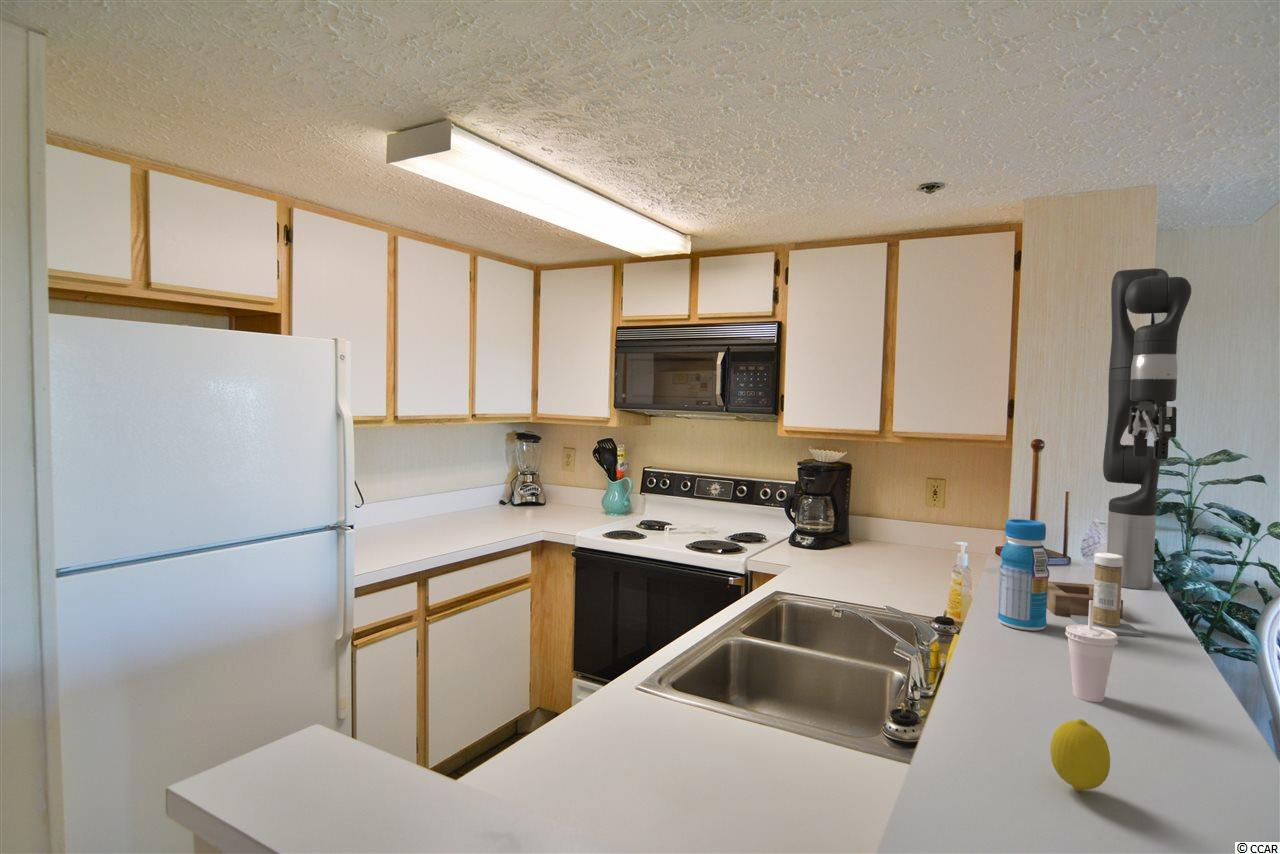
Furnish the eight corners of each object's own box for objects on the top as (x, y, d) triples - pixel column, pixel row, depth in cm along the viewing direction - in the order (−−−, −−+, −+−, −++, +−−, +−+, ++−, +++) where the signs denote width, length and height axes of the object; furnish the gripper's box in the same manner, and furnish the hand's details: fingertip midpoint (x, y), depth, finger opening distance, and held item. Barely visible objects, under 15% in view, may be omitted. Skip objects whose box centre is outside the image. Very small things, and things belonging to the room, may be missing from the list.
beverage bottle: (999, 628, 131) (1003, 523, 130) (994, 615, 138) (998, 516, 138) (1050, 634, 127) (1055, 527, 127) (1043, 621, 135) (1047, 520, 134)
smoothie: (1107, 691, 103) (1111, 598, 102) (1121, 709, 97) (1126, 610, 96) (1057, 684, 105) (1061, 593, 104) (1068, 702, 99) (1073, 605, 98)
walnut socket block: (1035, 598, 151) (1036, 580, 151) (1097, 603, 148) (1097, 584, 148) (1054, 615, 139) (1055, 595, 139) (1122, 620, 137) (1123, 600, 136)
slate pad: (1070, 617, 138) (1070, 614, 138) (1121, 621, 136) (1121, 618, 136) (1088, 632, 129) (1088, 629, 129) (1143, 637, 127) (1143, 633, 127)
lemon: (1038, 777, 78) (1040, 708, 78) (1083, 776, 79) (1086, 707, 79) (1072, 806, 73) (1075, 732, 73) (1121, 804, 73) (1124, 731, 73)
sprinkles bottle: (1124, 625, 132) (1127, 555, 131) (1113, 629, 129) (1116, 558, 129) (1098, 618, 136) (1101, 550, 135) (1086, 622, 133) (1090, 553, 133)
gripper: (1194, 376, 131) (1190, 461, 132) (1157, 379, 145) (1153, 455, 146) (1149, 376, 133) (1145, 460, 134) (1116, 378, 147) (1113, 454, 148)
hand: (1149, 457), depth 140 cm, fingers open, 8 cm apart
